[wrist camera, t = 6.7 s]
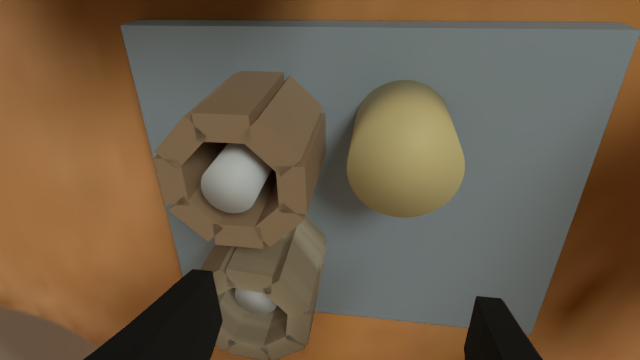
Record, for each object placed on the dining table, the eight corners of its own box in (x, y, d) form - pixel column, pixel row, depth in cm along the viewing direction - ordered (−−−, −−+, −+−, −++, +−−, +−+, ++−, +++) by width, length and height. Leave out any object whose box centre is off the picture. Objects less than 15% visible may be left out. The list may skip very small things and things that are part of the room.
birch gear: (331, 213, 20) (315, 285, 16) (320, 290, 23) (304, 368, 19) (226, 195, 21) (184, 260, 17) (228, 273, 24) (192, 346, 19)
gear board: (620, 22, 16) (752, 69, 10) (523, 313, 24) (565, 431, 18) (138, 19, 18) (25, 54, 13) (198, 281, 26) (145, 374, 21)
